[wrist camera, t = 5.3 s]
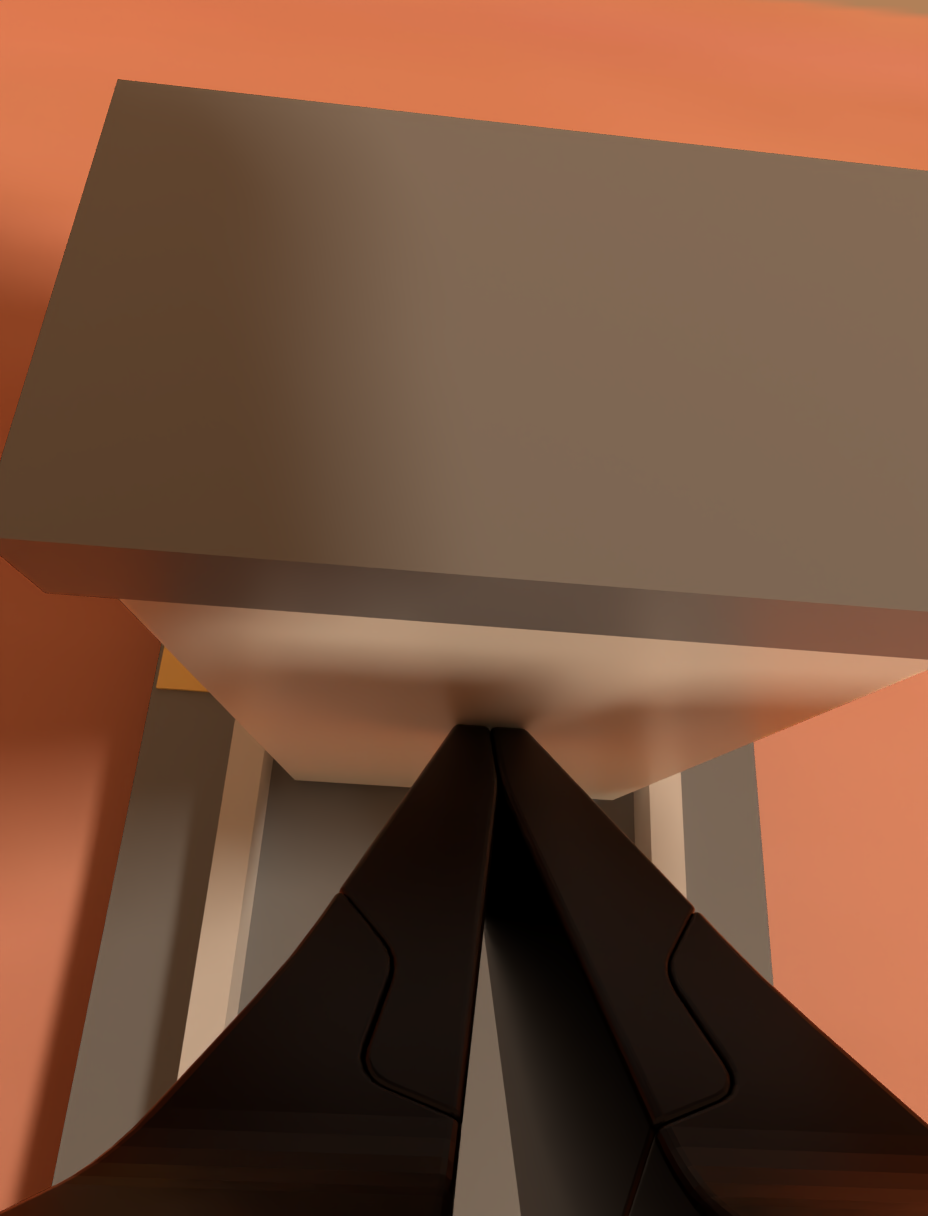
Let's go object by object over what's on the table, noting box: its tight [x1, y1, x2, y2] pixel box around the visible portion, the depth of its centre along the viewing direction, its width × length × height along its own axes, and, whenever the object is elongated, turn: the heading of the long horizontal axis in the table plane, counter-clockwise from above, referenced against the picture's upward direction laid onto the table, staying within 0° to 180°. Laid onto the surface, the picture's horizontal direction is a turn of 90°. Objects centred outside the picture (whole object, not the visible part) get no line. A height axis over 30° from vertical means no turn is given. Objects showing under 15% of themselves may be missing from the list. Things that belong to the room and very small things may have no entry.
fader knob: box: [0, 79, 928, 800], centre depth 10 cm, size 3×6×11 cm, turn 87°
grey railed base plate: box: [52, 643, 773, 1216], centre depth 14 cm, size 16×12×2 cm
